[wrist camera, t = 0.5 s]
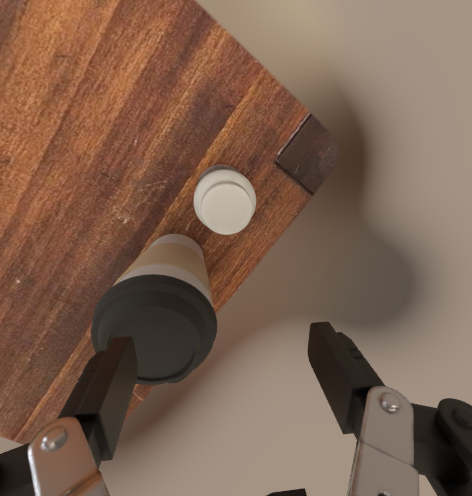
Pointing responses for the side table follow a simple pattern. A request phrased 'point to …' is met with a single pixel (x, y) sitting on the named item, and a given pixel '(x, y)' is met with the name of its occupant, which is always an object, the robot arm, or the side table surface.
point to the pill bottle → (224, 199)
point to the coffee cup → (161, 311)
